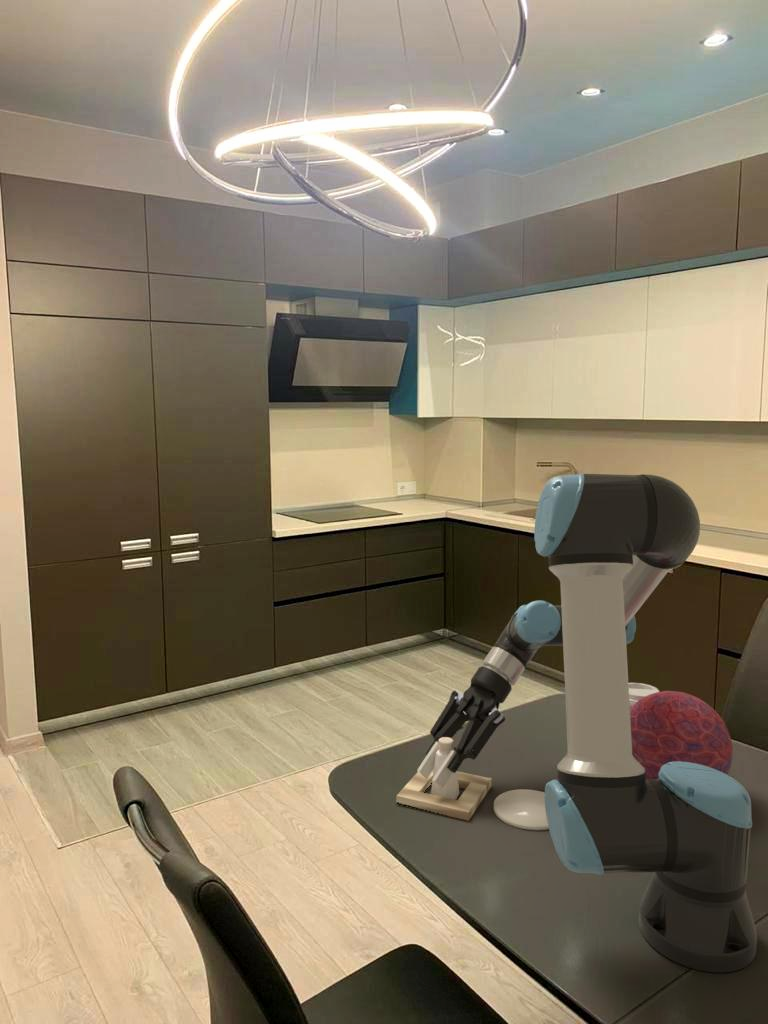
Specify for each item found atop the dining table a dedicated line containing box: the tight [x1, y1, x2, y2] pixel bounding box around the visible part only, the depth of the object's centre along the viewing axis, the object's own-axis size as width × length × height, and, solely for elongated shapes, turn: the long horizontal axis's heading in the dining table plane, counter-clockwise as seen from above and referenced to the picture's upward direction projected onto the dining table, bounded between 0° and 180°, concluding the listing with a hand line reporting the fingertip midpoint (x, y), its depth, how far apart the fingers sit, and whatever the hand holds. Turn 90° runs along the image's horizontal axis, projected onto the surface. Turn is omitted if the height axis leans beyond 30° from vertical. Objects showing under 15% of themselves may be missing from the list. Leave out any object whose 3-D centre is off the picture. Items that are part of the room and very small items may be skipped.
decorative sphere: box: [630, 690, 734, 779], centre depth 143 cm, size 20×20×20 cm
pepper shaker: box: [430, 737, 460, 800], centre depth 143 cm, size 5×5×11 cm
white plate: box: [493, 788, 549, 831], centre depth 138 cm, size 13×13×1 cm
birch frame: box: [395, 769, 493, 822], centre depth 144 cm, size 14×14×2 cm
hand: (429, 779), depth 141 cm, fingers closed on pepper shaker, 4 cm apart
